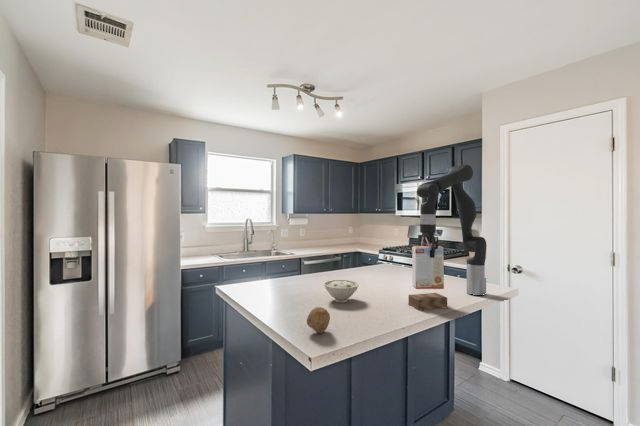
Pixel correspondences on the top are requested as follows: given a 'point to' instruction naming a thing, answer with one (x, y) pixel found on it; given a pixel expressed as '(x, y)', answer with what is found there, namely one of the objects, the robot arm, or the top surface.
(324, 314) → the brown round lump
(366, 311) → the top surface
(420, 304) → the block
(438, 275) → the cracker box
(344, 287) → the bowl
